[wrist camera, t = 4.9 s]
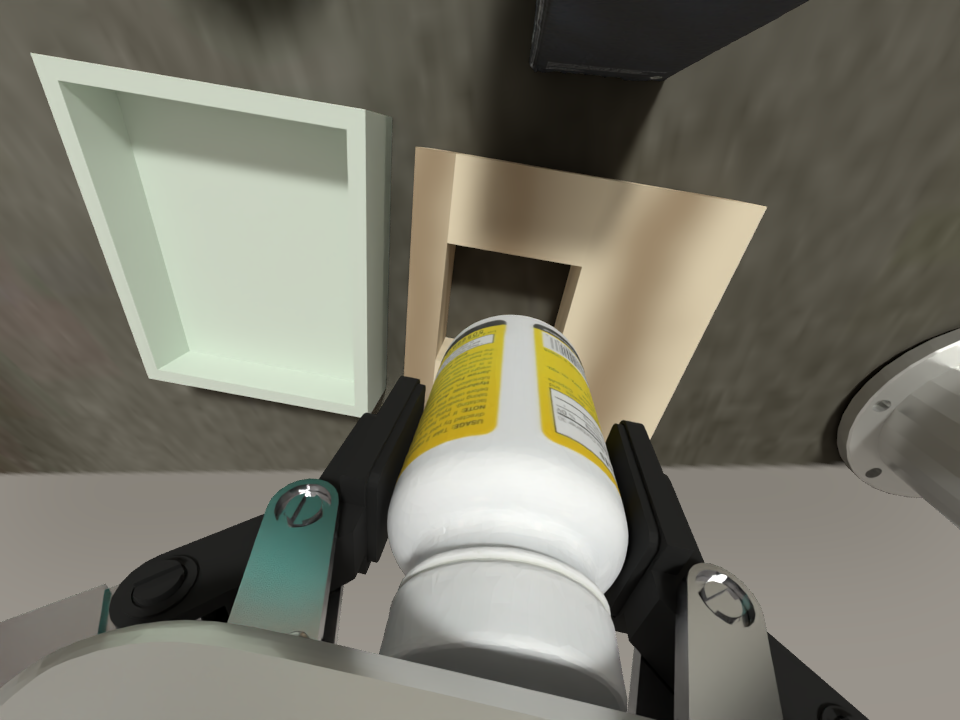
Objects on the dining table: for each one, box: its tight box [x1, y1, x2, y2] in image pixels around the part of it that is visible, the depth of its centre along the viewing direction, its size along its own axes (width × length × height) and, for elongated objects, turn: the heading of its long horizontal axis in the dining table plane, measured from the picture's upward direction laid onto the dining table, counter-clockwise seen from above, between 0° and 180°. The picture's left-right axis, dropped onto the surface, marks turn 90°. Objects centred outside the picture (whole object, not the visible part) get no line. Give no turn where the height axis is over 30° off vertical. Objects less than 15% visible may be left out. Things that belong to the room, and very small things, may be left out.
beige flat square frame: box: [404, 147, 767, 442], centre depth 20 cm, size 15×14×3 cm
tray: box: [31, 53, 392, 418], centre depth 20 cm, size 14×16×4 cm
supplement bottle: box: [379, 315, 628, 713], centre depth 10 cm, size 5×5×10 cm
